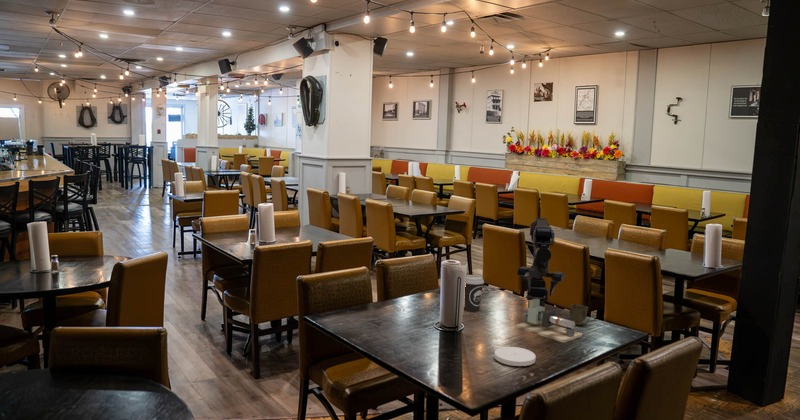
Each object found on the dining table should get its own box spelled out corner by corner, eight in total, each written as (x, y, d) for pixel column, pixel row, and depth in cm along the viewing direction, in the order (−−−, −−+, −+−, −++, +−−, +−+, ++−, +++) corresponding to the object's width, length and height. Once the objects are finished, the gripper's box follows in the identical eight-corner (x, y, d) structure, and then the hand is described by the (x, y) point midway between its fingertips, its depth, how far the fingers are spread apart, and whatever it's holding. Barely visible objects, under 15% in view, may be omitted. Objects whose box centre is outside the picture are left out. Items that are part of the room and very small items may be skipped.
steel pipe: (523, 322, 238) (523, 308, 237) (527, 321, 240) (528, 307, 239) (570, 337, 222) (571, 321, 221) (574, 335, 224) (575, 320, 223)
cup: (583, 328, 236) (584, 309, 235) (565, 324, 240) (566, 306, 239) (589, 324, 242) (590, 306, 241) (572, 320, 246) (573, 302, 245)
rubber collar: (541, 326, 229) (542, 311, 229) (550, 323, 233) (551, 309, 233) (546, 327, 228) (547, 312, 227) (554, 324, 232) (555, 310, 231)
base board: (514, 327, 235) (514, 324, 235) (533, 321, 244) (533, 318, 244) (564, 342, 218) (564, 340, 218) (582, 335, 227) (582, 333, 227)
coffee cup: (482, 307, 262) (483, 275, 260) (483, 313, 253) (484, 280, 251) (461, 306, 263) (462, 274, 261) (461, 312, 254) (462, 279, 252)
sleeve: (527, 321, 234) (528, 300, 233) (535, 319, 238) (537, 298, 237) (535, 324, 231) (536, 302, 230) (544, 321, 235) (545, 300, 234)
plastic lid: (515, 372, 189) (516, 364, 189) (485, 358, 201) (486, 351, 200) (543, 363, 198) (544, 356, 197) (513, 350, 209) (513, 344, 209)
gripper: (512, 257, 234) (510, 294, 235) (557, 263, 223) (555, 302, 225) (522, 252, 243) (520, 288, 245) (566, 259, 233) (564, 296, 235)
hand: (539, 294), depth 237 cm, fingers open, 9 cm apart
